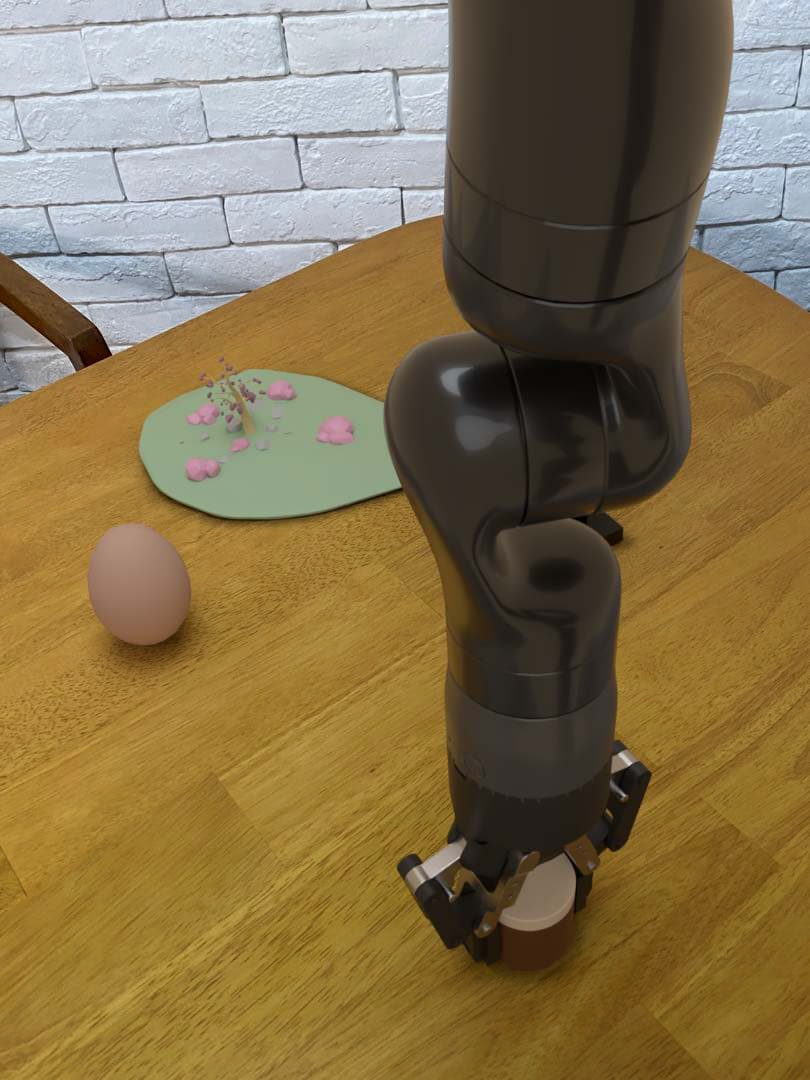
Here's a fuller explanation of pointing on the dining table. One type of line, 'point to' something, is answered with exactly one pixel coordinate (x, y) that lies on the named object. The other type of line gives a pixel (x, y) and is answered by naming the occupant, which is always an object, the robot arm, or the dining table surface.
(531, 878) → the brown lidded jar
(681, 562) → the dining table surface
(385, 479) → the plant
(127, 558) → the egg
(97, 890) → the dining table surface
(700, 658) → the dining table surface
